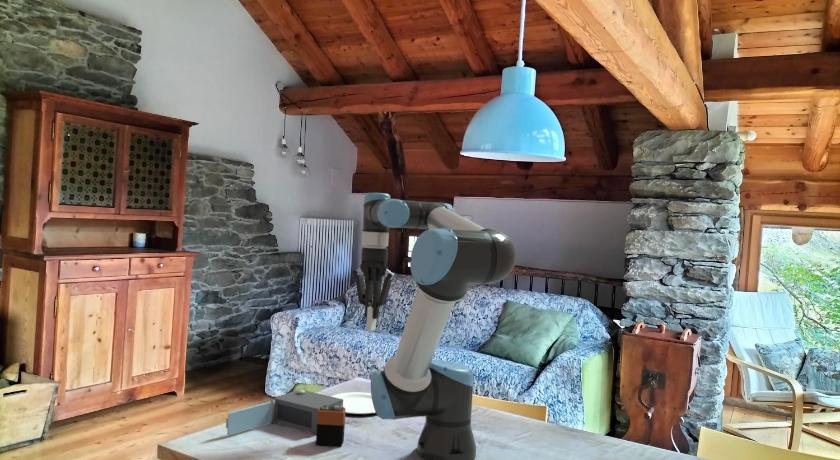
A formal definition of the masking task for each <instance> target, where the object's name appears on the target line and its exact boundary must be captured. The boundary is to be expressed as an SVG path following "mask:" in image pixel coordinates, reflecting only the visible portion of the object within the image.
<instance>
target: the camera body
mask: <svg viewBox="0 0 840 460" xmlns="http://www.w3.org/2000/svg"><path fill="white" fill-rule="evenodd" d="M331 396H332V395H331ZM331 396H330V395H326V394H322V393H318V392H314V391H308V390H304V389H299V388H298V389H295V390H292V391H290V392H287V393H284V394H282V395H279V396H276V397H273V400H275V413H274V423H273V424H276V425H279V426H284V427H286V428H291V429H295V430H299V431H303V432H305V433H310V434H313V435H316V432H317V413H318V410H319V408H320V407H321V406H322V405H328V406H329V407H334V406H335V405H342V407H343V399H340V398H335V397H331Z"/></svg>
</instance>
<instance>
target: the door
mask: <svg viewBox="0 0 840 460" xmlns="http://www.w3.org/2000/svg"><path fill="white" fill-rule="evenodd" d="M274 413H275V400H274V399H271V400H270V401H268V402H264V403H260V404H257V405H252V406H249V407H245V408H242V409H238V410H234V411H230V412H228V413H227V418H226V419H225V420H226V421H225V428H226V429H227V430H226V431H227V433H226V435H227V436H229V437H230V436H232V435H236V434H238V433H241V432H245V431H248V430H252V429H254V428H258V427H261V426H265V425H268V424H275V423H274Z"/></svg>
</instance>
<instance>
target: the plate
mask: <svg viewBox="0 0 840 460" xmlns="http://www.w3.org/2000/svg"><path fill="white" fill-rule="evenodd" d="M331 397H335V398H340V399H343V407H344V408H345V415H346V414H347V415H355V416H356V415H374V414H376V412H375V409H374V406H373V402H372V397H371V392H359V391H358V392H355V391H353V392H343V393H337V394H334V395H331Z"/></svg>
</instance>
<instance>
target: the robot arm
mask: <svg viewBox="0 0 840 460" xmlns="http://www.w3.org/2000/svg"><path fill="white" fill-rule="evenodd" d="M362 206H363V207H362V208H363V212H362V213H363V214H362V215H363V218H362V235H361V236H362V237H361V238H362V239H361V245H362V246H363V247H362V248H361V263H360V265H359V267H358V268H357V269H354V270H352V275H353V277H354V278H355V279H354V280H355V284H356V290H357V291H356V293H357V297H358V303H359V304H360V305H363V306H364V318H365V319H366V329H365V330H366V331H371V332H372V331H375V330H376V329H377V327H376V326H377V319H379V317H380V308H381V307H382V306H386V303H387V300H388V296H389V292H390V289H391V285H392V282H393V279H394V278H395V277H396V273H395V272H391V270H389V266H388V259H389V258H388V257H389V250H388V248H387V247H389V237H390V234H389V232H390V228H393V229H396V228H397V229H398V228H401V229H418V230H419V229H420V230H422V229H423V230H425V231H423V232H422V233H421V234H420V235H419V236H418V237H417V238H416V240H415V243H414V244H413V247H412V250H411V253H410V258H411V260H410V263H409V264H410V267H409V268H410V272H411V276H412V278H413V279H414V283H415V286H416V287H417V291H416V294H415V297H414V300H413V302H412V306H411V309H410V311H409V315H408V317H407V321H406V323H405V326H404V329H403V331H402V334H401V338H400V339H399V343H398V346H397V349H396V352H395V355H393V356H392V357H390V358H389V359H388V360H387V361H386V363H385V364H384V365H385V366H384V367H383V370H380V369H378V370H375V371H373V373H372V374H371V377H370V393H371V397H372V402H373V406H374V409H375V412H376V413H375V414H376V415H377V417H378V418H380V419H381V420H393V421H395V420H399V419H400V420H401V419H408V418H409V419H411V418H418V417H419V418H420V417H425V422H424V425H423V427H422V430H421V433H420V435H419V438H418V440H417V446H416V449H417V450H416V451H417V455H418V456H419V457H421V458H422V459H424V460H474V459H476V457H477V444H476V440H475V436H474V433H473V429H472V408H473V394H474V393H473V391H474V387H475V385H474V373H473V370H472V369H471V368H470V367H468V366H467V365H465V364H461V363H458V362H455V361H449V360H442V359H441V360H440V359H434V357H435V353H436V351H437V349H438V347H439V346H438V345H439V343H440V341H441V338H442V335H443V334H444V330H445V328H446V325H447V323H448V320H449V317H451V316H450V315H451V313H452V310H453V307H454V305H455V303H457V302H459V301H461V300H463V298H464V297H465V296H466V295H467V291H468V290H469V287H470V286H471V285H474V286H475V285H492V284H496V283H499V282H501V281H503V280H504V279H506V278H507V276H509V275H510V274H511V273H512V271H513V270H514V267H515V266H516V261H517V250H516V249H517V248H516V246H515V243H514V242H513V240H512V239H511V238H510V237H509V236H508V235H507V234H505V233H503V232H501V231H500V230H497V229H496V228H493V227H485V228H484V227H483V226H481V225H478V224H477V223H476V222H475V223H474V221H471V220H469V219H467V218H466V217H463V216H462V215H460V214H457V213H456V212H455V209H454V208H453V205H452V204H451V203H450V204H449V203H446V202H445V203H444V202H442V201H440V202H439V201H437V202H435V201H434V202H432V201H430V202H429V201H417V200H416V201H415V200H402V199H398V198H391V195H390V194H389V193H383V192H367V193H366V194H365V195H364V199H363V205H362ZM363 275H364V276H363ZM383 278H384V279H383ZM382 283H383V284H382Z"/></svg>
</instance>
